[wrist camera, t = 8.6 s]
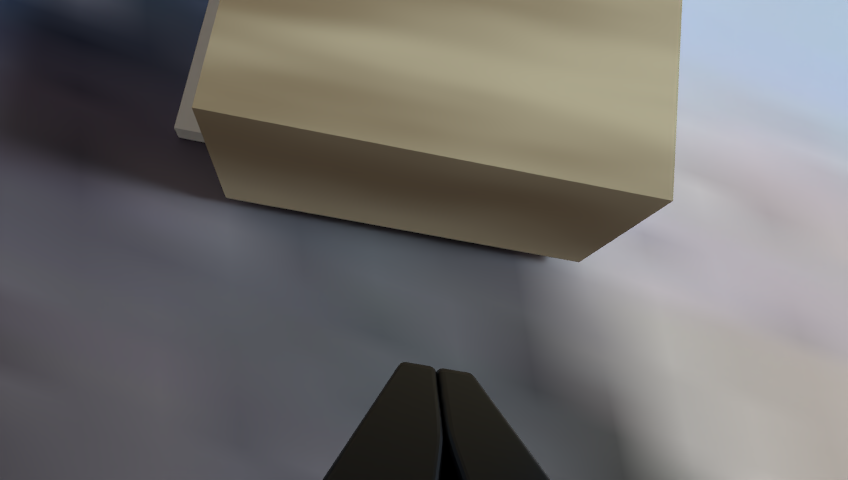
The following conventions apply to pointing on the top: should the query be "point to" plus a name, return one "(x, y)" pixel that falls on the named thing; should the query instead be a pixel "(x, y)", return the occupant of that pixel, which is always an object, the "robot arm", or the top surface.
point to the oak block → (449, 114)
